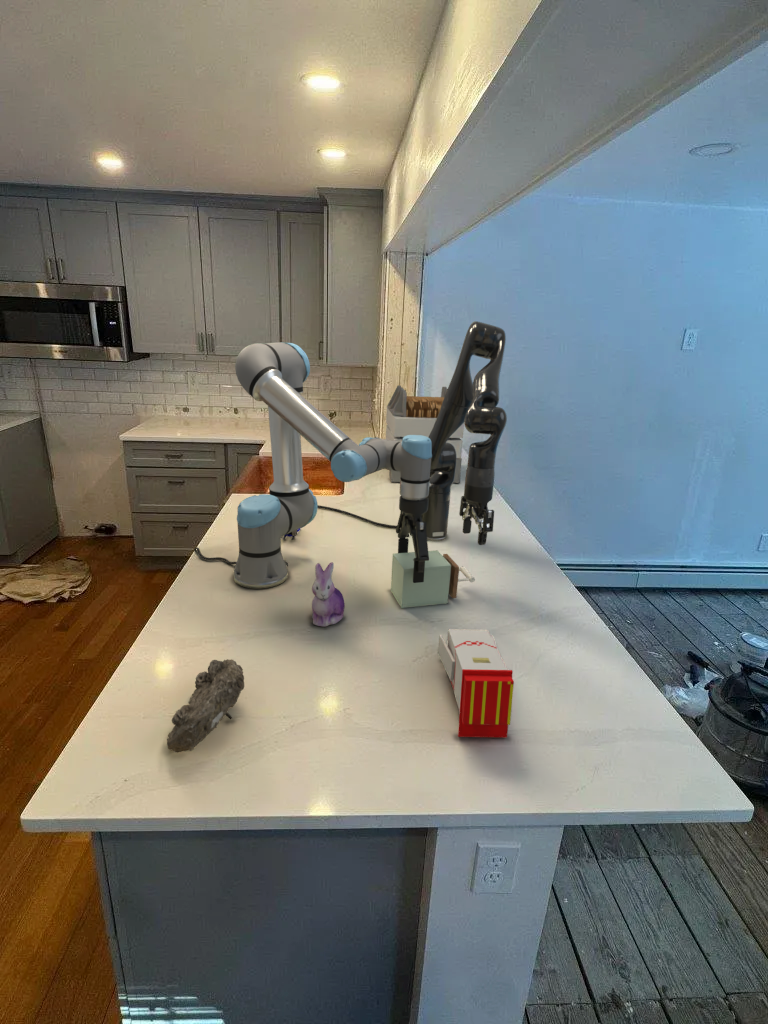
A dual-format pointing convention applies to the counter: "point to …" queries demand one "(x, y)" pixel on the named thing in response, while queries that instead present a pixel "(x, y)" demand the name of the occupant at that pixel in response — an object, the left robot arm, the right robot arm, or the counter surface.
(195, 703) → the fossil
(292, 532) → the figurine character
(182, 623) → the counter surface
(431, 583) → the sage green cube
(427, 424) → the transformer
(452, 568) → the drawer
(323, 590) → the figurine
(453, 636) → the toy
